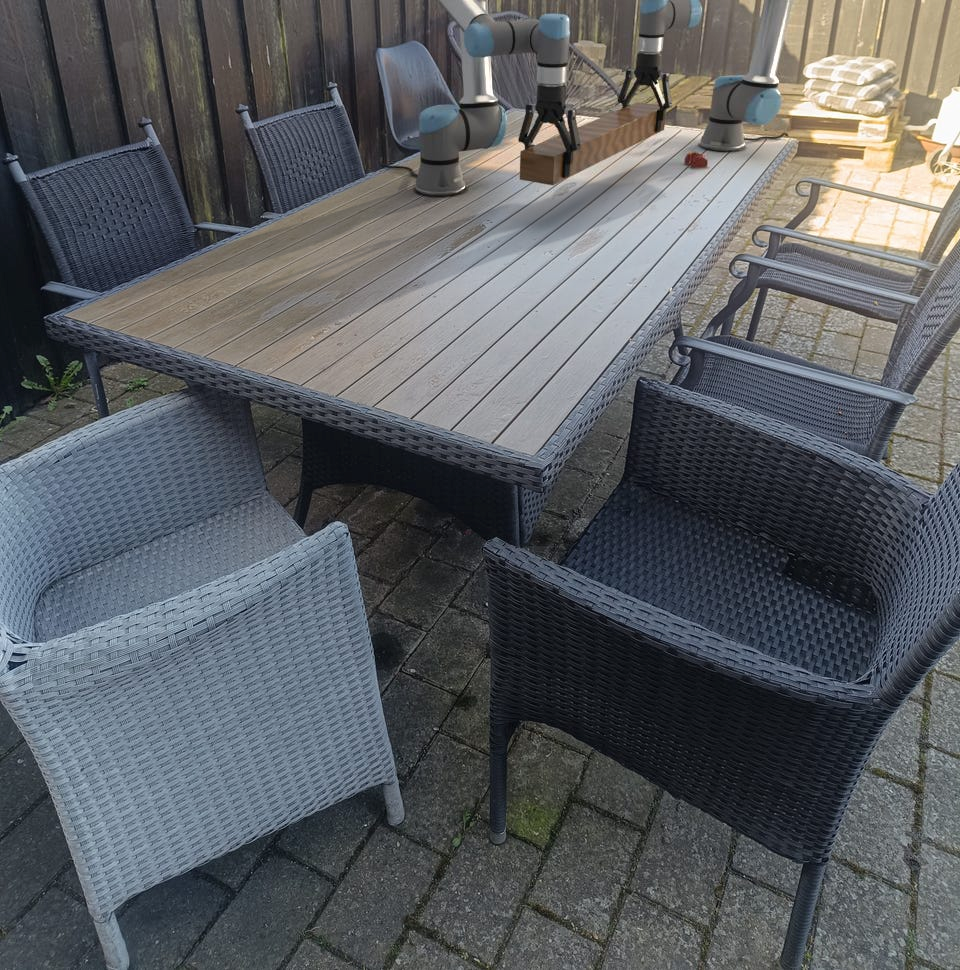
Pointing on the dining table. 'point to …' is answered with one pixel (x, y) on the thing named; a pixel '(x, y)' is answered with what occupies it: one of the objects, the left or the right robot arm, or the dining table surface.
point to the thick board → (590, 143)
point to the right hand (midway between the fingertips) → (642, 129)
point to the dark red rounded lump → (696, 160)
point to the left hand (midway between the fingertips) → (547, 173)
